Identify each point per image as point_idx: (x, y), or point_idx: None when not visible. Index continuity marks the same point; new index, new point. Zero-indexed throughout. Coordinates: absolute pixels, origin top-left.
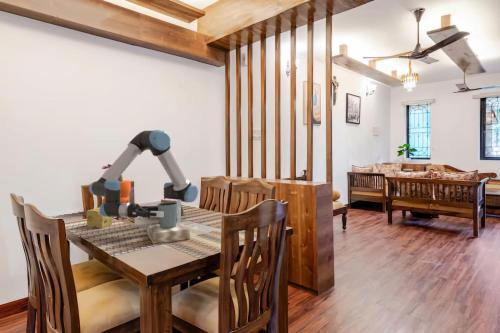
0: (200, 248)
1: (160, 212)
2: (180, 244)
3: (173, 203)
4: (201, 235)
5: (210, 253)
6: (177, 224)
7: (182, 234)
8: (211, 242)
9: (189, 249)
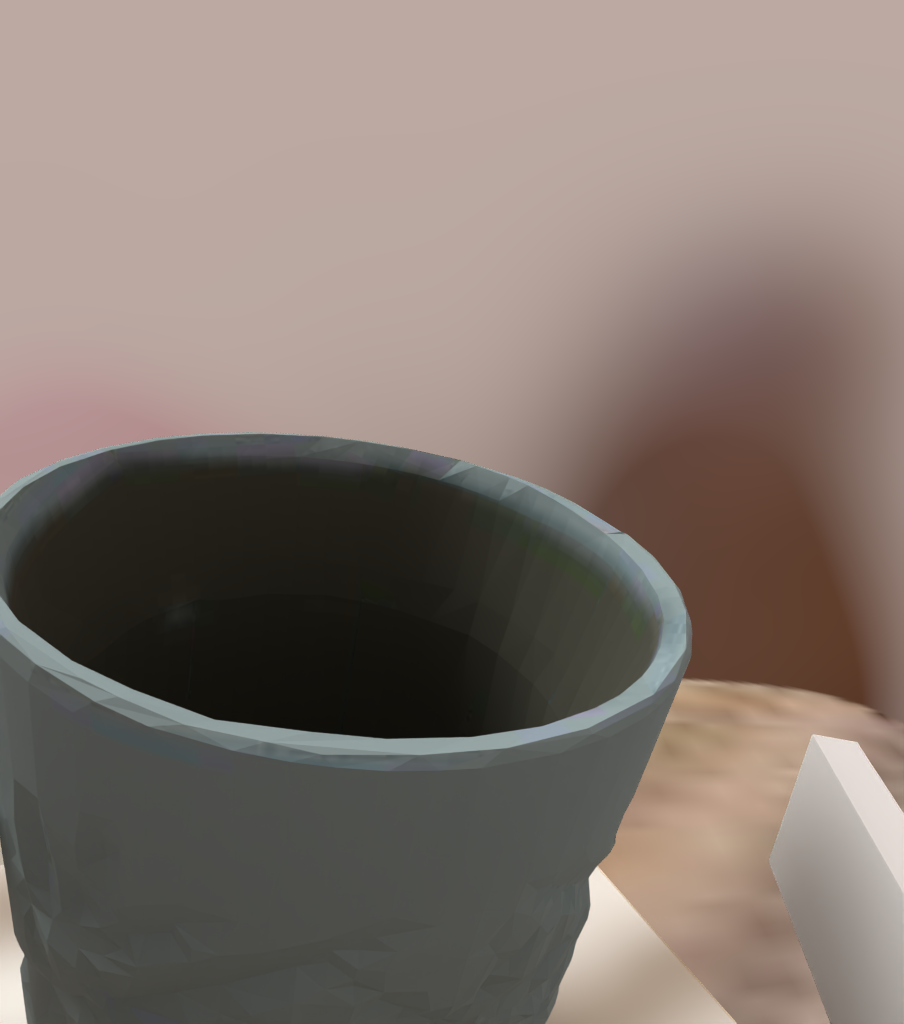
0: (771, 766)
1: (883, 806)
2: (737, 939)
3: (125, 490)
4: None
5: (849, 716)
6: None
7: None
8: None
9: None
